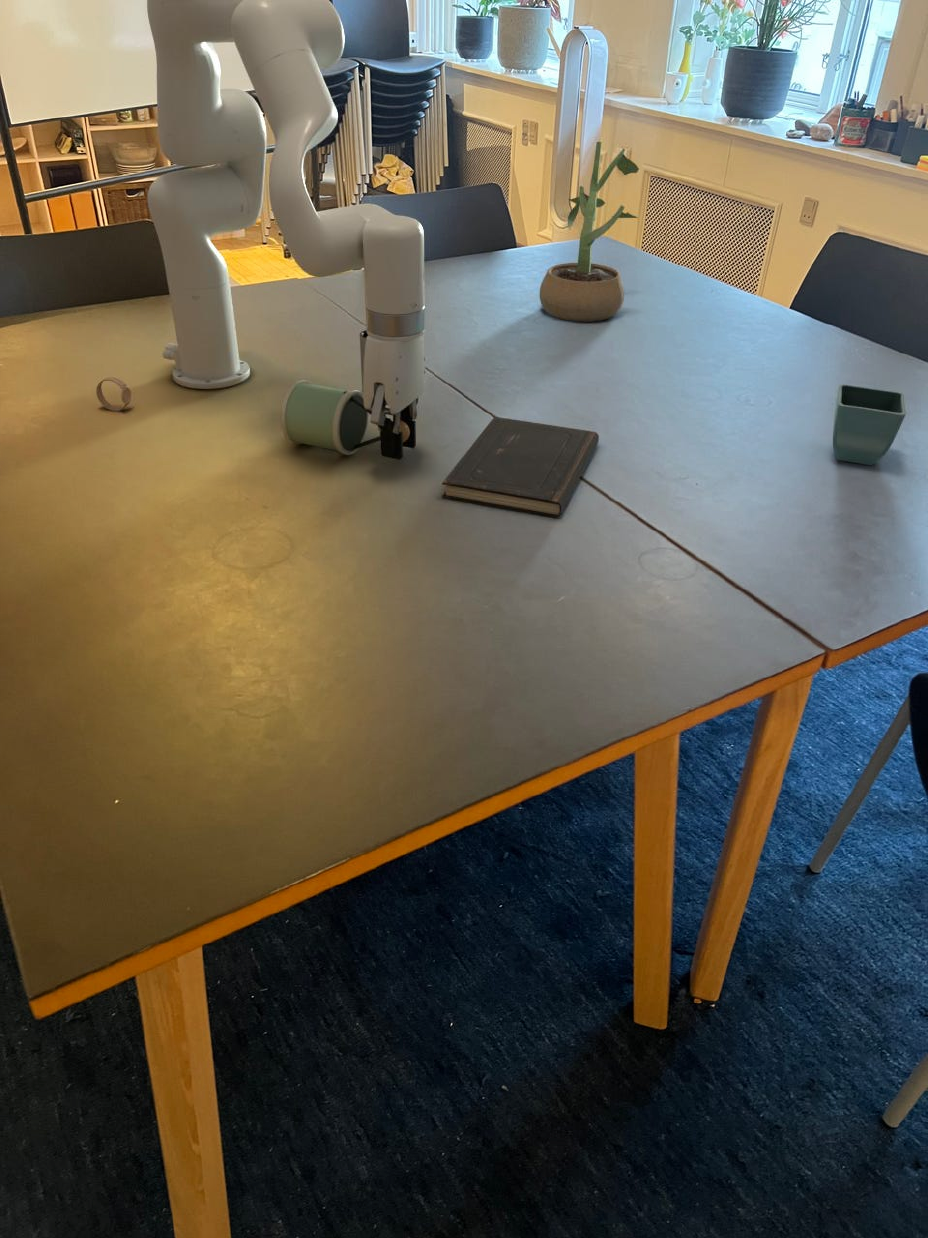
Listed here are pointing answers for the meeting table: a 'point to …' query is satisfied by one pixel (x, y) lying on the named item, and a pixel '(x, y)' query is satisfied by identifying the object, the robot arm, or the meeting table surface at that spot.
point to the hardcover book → (522, 466)
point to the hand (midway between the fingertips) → (398, 450)
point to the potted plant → (587, 260)
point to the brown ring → (125, 394)
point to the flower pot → (866, 423)
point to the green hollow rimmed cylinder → (327, 418)
